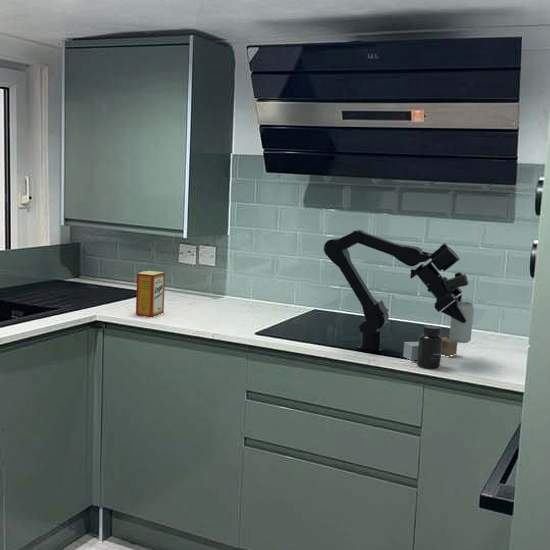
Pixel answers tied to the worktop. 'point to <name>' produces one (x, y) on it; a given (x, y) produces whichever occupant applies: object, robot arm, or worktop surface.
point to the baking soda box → (150, 293)
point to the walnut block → (448, 347)
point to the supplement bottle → (429, 348)
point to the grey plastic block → (411, 350)
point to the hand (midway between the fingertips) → (466, 320)
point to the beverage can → (462, 324)
